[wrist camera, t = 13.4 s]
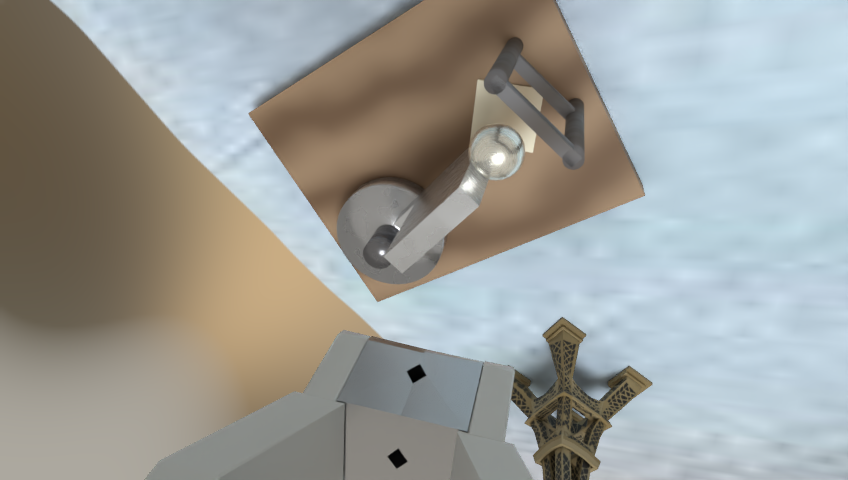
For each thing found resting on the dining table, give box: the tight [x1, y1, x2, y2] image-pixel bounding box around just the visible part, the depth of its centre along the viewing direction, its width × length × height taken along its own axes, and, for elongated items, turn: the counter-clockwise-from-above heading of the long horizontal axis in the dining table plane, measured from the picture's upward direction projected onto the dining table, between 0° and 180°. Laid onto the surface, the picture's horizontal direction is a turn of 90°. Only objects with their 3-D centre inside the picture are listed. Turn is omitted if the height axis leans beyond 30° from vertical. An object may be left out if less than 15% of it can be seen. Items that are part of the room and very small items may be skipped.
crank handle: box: [337, 123, 525, 284], centre depth 42 cm, size 20×9×12 cm, turn 138°
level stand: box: [248, 0, 645, 302], centre depth 42 cm, size 20×25×13 cm
